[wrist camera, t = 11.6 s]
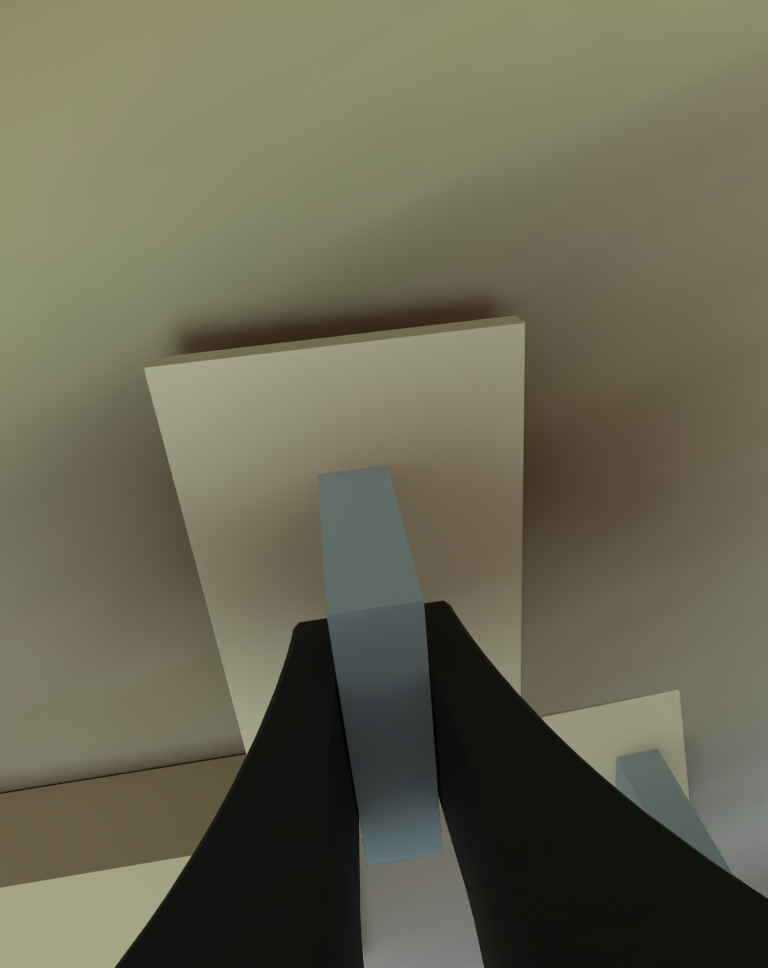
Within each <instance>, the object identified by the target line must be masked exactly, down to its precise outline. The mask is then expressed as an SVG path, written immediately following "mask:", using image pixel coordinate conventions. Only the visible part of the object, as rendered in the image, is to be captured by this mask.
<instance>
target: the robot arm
mask: <svg viewBox="0 0 768 968" xmlns="http://www.w3.org/2000/svg"><path fill="white" fill-rule="evenodd" d="M424 610H425V623H426V637H427V650H428V664H429V677H430V691H431V704H432V718H433V731H434V745H435V758H436V772H437V785H438V796H439V799H440V803H441V806H442V809H443V813H444V816H445V820H446V823H447V826H448V830H449V833H450V836H451V840H452V843H453V847H454V850H455V853H456V857H457V860H458V863H459V867H460V870H461V874H462V877H463V880H464V884H465V887H466V890H467V894H468V898H469V902H470V906H471V910H472V914H473V918H474V922H475V926H476V931H477V935H478V940H479V945H480V950H481V955H482V960H483V964H484V968H768V898H766V897H764V896H763V895H761V894H760V893H758V892H757V891H755V890H754V889H752V888H751V887H749V886H748V885H747V884H745V883H744V882H742V881H741V880H739V879H738V878H736V877H735V876H733V875H732V874H730V873H729V872H727V871H726V870H724V869H723V868H721V867H720V866H718V865H717V864H715V863H714V862H712V861H711V860H710V859H708V858H707V857H706V856H704V855H703V854H701V853H700V852H699V851H697V850H696V849H695V848H693V847H692V846H691V845H689V844H688V843H687V842H685V841H684V840H683V839H681V838H680V837H679V836H677V835H676V834H675V833H673V832H672V831H671V830H669V829H668V828H666V827H665V826H664V825H662V824H661V823H660V822H658V821H657V820H656V819H654V818H653V817H652V816H650V815H649V814H648V813H646V812H645V811H644V810H642V809H641V808H640V807H639V806H637V805H636V804H635V803H634V802H633V801H631V800H630V799H629V798H628V797H627V796H625V795H624V794H623V793H622V792H621V791H619V790H618V789H617V788H616V787H615V786H613V785H612V784H611V783H610V782H608V781H607V780H606V779H605V778H604V777H603V776H602V775H601V774H599V773H598V772H597V771H596V770H595V769H594V768H593V767H592V766H590V765H589V764H588V763H587V762H586V761H585V760H584V759H583V758H581V757H580V756H579V755H578V754H577V753H576V752H575V751H574V750H573V749H572V748H571V747H570V746H569V745H568V744H567V743H566V742H564V741H563V740H562V739H561V738H560V737H559V736H558V735H557V734H556V733H555V732H554V731H553V730H552V729H551V728H550V727H549V726H548V725H547V724H546V723H545V722H544V720H543V719H542V718H541V717H540V716H539V715H538V714H537V713H536V712H535V711H534V710H533V709H532V708H531V707H530V706H529V705H528V704H527V703H526V702H525V700H524V699H523V698H522V697H521V696H520V695H519V694H518V693H517V692H516V690H515V689H514V688H513V687H512V686H511V685H510V683H509V682H508V681H507V680H506V679H505V678H504V677H503V675H502V674H501V673H500V672H499V671H498V670H497V668H496V667H495V666H494V665H493V664H492V662H491V661H490V660H489V659H488V657H487V656H486V655H485V654H484V652H483V651H482V650H481V648H480V647H479V646H478V644H477V643H476V642H475V641H474V639H473V638H472V636H471V635H470V634H469V632H468V631H467V630H466V628H465V627H464V625H463V624H462V622H461V621H460V619H459V618H458V616H457V615H456V613H455V612H454V610H453V608H452V606H451V605H450V604H448V603H447V602H445V601H444V600H443V601H437V602H430V603H424ZM115 968H364V963H363V953H362V940H361V919H360V861H359V813H358V806H357V800H356V794H355V788H354V782H353V775H352V769H351V763H350V757H349V751H348V744H347V738H346V732H345V726H344V720H343V713H342V707H341V701H340V695H339V689H338V683H337V676H336V670H335V664H334V658H333V652H332V645H331V639H330V633H329V627H328V621H327V618H324V619H317V620H311V621H304V622H299V623H298V624H297V625H296V626H295V627H294V629H293V632H292V637H291V641H290V645H289V649H288V652H287V656H286V659H285V662H284V665H283V668H282V671H281V674H280V677H279V679H278V682H277V685H276V688H275V691H274V693H273V695H272V698H271V700H270V703H269V705H268V708H267V710H266V713H265V715H264V718H263V720H262V723H261V725H260V727H259V730H258V732H257V734H256V736H255V739H254V741H253V743H252V745H251V747H250V749H249V751H248V753H247V755H246V757H245V759H244V761H243V764H242V766H241V768H240V770H239V772H238V774H237V776H236V778H235V780H234V782H233V784H232V786H231V788H230V790H229V792H228V794H227V795H226V797H225V799H224V801H223V803H222V805H221V807H220V808H219V810H218V812H217V814H216V816H215V817H214V819H213V821H212V822H211V824H210V826H209V828H208V829H207V831H206V833H205V835H204V836H203V838H202V840H201V841H200V843H199V845H198V846H197V848H196V850H195V851H194V853H193V854H192V856H191V858H190V859H189V861H188V862H187V864H186V865H185V867H184V869H183V870H182V872H181V873H180V875H179V876H178V878H177V879H176V881H175V883H174V884H173V886H172V887H171V889H170V890H169V892H168V894H167V895H166V897H165V898H164V899H163V901H162V902H161V904H160V905H159V907H158V908H157V910H156V911H155V913H154V914H153V916H152V917H151V918H150V920H149V921H148V923H147V924H146V926H145V927H144V928H143V930H142V931H141V932H140V934H139V935H138V936H137V938H136V939H135V941H134V942H133V943H132V945H131V946H130V947H129V949H128V950H127V951H126V953H125V954H124V955H123V957H122V958H121V959H120V961H119V962H118V963H117V965H116V966H115Z"/></svg>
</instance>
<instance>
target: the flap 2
mask: <svg viewBox="0 0 768 968" xmlns="http://www.w3.org/2000/svg"><path fill="white" fill-rule="evenodd" d="M540 717H541V718H542V719H543V720H544V722H545V723H546V724H547V725H548V726H549V727H550V728H551V729H552V730H553V731H554V732H555V733H556V734H557V735H558V736H559V737H560V738H561V739H562V740H563V741H564V742H566V743H567V744H568V745H569V746H570V747H571V748H572V749H573V750H574V751H575V752H576V753H577V754H578V755H579V756H580V757H581V758H583V759H584V760H585V761H586V762H587V763H588V764H589V765H590V766H592V767H593V768H594V769H595V770H596V771H597V772H598V773H599V774H601V775H602V776H603V777H604V778H605V779H606V780H607V781H608V782H610V783H611V784H612V785H613V786H615V787H616V788H617V789H618V790H619V791H621V792H622V793H623V794H624V795H625V796H627V797H628V798H629V799H630V800H631V801H633V802H634V803H635V804H636V805H637V806H639V807H640V808H641V809H642V810H644V811H645V812H646V813H648V814H649V815H650V816H652V817H653V818H654V819H656V820H657V821H658V822H660V823H661V824H662V825H664V826H665V827H666V828H668V829H669V830H671V831H672V832H673V833H675V834H676V835H677V836H679V837H680V838H681V839H683V840H684V841H685V842H687V843H688V844H689V845H691V846H692V847H693V848H695V849H696V850H697V851H699V852H700V853H701V854H703V855H704V856H706V857H707V858H708V859H710V860H711V861H712V862H714V863H715V864H717V865H718V866H720V867H721V868H723V869H724V870H726V871H727V872H729V873H730V874H732V872H731V871H730V869H729V867H728V865H727V864H726V862H725V860H724V859H723V857H722V855H721V854H720V852H719V850H718V849H717V847H716V845H715V844H714V842H713V840H712V839H711V837H710V835H709V834H708V832H707V830H706V829H705V827H704V825H703V824H702V822H701V820H700V819H699V817H698V815H697V814H696V812H695V810H694V809H693V807H692V805H691V804H690V799H689V788H688V778H687V767H686V757H685V746H684V736H683V725H682V714H681V704H680V693H679V690H674V691H669V692H663V693H658V694H653V695H648V696H643V697H637V698H632V699H627V700H622V701H617V702H611V703H606V704H601V705H596V706H591V707H585V708H580V709H575V710H570V711H565V712H559V713H554V714H549V715H544V716H540ZM732 875H733V874H732Z"/></svg>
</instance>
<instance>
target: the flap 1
mask: <svg viewBox="0 0 768 968" xmlns="http://www.w3.org/2000/svg"><path fill="white" fill-rule="evenodd" d="M524 368H525V322H523V321H522V320H521V319H520V318H519V317H517V316H516V315H514V316H506V317H497V318H489V319H480V320H472V321H463V322H455V323H446V324H438V325H429V326H421V327H412V328H404V329H395V330H387V331H378V332H370V333H361V334H353V335H344V336H335V337H327V338H318V339H310V340H301V341H293V342H284V343H276V344H267V345H259V346H250V347H242V348H233V349H225V350H216V351H208V352H199V353H191V354H182V355H174V356H165V357H157V358H150V359H149V361H148V362H147V364H146V365H145V367H144V371H145V375H146V378H147V382H148V386H149V390H150V393H151V397H152V401H153V405H154V408H155V412H156V416H157V420H158V424H159V427H160V431H161V435H162V439H163V442H164V446H165V450H166V454H167V457H168V461H169V465H170V469H171V472H172V476H173V480H174V484H175V487H176V491H177V495H178V499H179V503H180V506H181V510H182V514H183V518H184V521H185V525H186V529H187V533H188V536H189V540H190V544H191V548H192V551H193V555H194V559H195V563H196V566H197V570H198V574H199V578H200V582H201V585H202V589H203V593H204V597H205V600H206V604H207V608H208V612H209V615H210V619H211V623H212V627H213V630H214V634H215V638H216V642H217V645H218V649H219V653H220V657H221V660H222V664H223V668H224V672H225V676H226V679H227V683H228V687H229V691H230V694H231V698H232V702H233V706H234V709H235V713H236V717H237V721H238V724H239V728H240V732H241V736H242V739H243V743H244V747H245V751H246V755H247V753H248V751H249V749H250V747H251V745H252V743H253V741H254V739H255V736H256V734H257V732H258V730H259V727H260V725H261V723H262V720H263V718H264V715H265V713H266V710H267V708H268V705H269V703H270V700H271V698H272V695H273V693H274V691H275V688H276V685H277V682H278V679H279V677H280V674H281V671H282V668H283V665H284V662H285V659H286V656H287V652H288V649H289V645H290V641H291V637H292V632H293V629H294V627H295V626H296V625H297V624H298V623H299V622H304V621H311V620H317V619H324V618H327V621H328V627H329V633H330V639H331V645H332V652H333V658H334V664H335V670H336V676H337V683H338V689H339V695H340V701H341V707H342V713H343V720H344V726H345V732H346V738H347V744H348V751H349V757H350V763H351V769H352V775H353V782H354V788H355V794H356V800H357V806H358V813H359V819H360V825H361V831H362V837H363V843H364V850H365V856H366V862H367V866H368V865H374V864H380V863H386V862H392V861H398V860H404V859H410V858H416V857H422V856H429V855H435V854H441V853H442V839H441V826H440V812H439V799H438V785H437V772H436V758H435V745H434V731H433V718H432V704H431V691H430V677H429V664H428V650H427V637H426V623H425V610H424V603H430V602H437V601H443V600H444V601H445V602H447V603H448V604H450V605H451V606H452V608H453V610H454V612H455V613H456V615H457V616H458V618H459V619H460V621H461V622H462V624H463V625H464V627H465V628H466V630H467V631H468V632H469V634H470V635H471V636H472V638H473V639H474V641H475V642H476V643H477V644H478V646H479V647H480V648H481V650H482V651H483V652H484V654H485V655H486V656H487V657H488V659H489V660H490V661H491V662H492V664H493V665H494V666H495V667H496V668H497V670H498V671H499V672H500V673H501V674H502V675H503V677H504V678H505V679H506V680H507V681H508V682H509V683H510V685H511V686H512V687H513V688H514V689H515V690H516V692H517V693H518V694H519V695H520V696H521V618H522V535H523V452H524Z"/></svg>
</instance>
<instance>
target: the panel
mask: <svg viewBox="0 0 768 968" xmlns="http://www.w3.org/2000/svg"><path fill="white" fill-rule="evenodd" d="M245 757H246V754H245V755H239V756H233V757H227V758H220V759H214V760H208V761H202V762H196V763H189V764H183V765H177V766H171V767H165V768H158V769H152V770H146V771H140V772H133V773H127V774H121V775H115V776H109V777H102V778H96V779H90V780H84V781H78V782H71V783H65V784H59V785H53V786H47V787H40V788H34V789H28V790H22V791H16V792H9V793H3V794H0V968H115V966H116V965H117V963H118V962H119V961H120V959H121V958H122V957H123V955H124V954H125V953H126V951H127V950H128V949H129V947H130V946H131V945H132V943H133V942H134V941H135V939H136V938H137V936H138V935H139V934H140V932H141V931H142V930H143V928H144V927H145V926H146V924H147V923H148V921H149V920H150V918H151V917H152V916H153V914H154V913H155V911H156V910H157V908H158V907H159V905H160V904H161V902H162V901H163V899H164V898H165V897H166V895H167V894H168V892H169V890H170V889H171V887H172V886H173V884H174V883H175V881H176V879H177V878H178V876H179V875H180V873H181V872H182V870H183V869H184V867H185V865H186V864H187V862H188V861H189V859H190V858H191V856H192V854H193V853H194V851H195V850H196V848H197V846H198V845H199V843H200V841H201V840H202V838H203V836H204V835H205V833H206V831H207V829H208V828H209V826H210V824H211V822H212V821H213V819H214V817H215V816H216V814H217V812H218V810H219V808H220V807H221V805H222V803H223V801H224V799H225V797H226V795H227V794H228V792H229V790H230V788H231V786H232V784H233V782H234V780H235V778H236V776H237V774H238V772H239V770H240V768H241V766H242V764H243V761H244V759H245Z"/></svg>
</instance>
